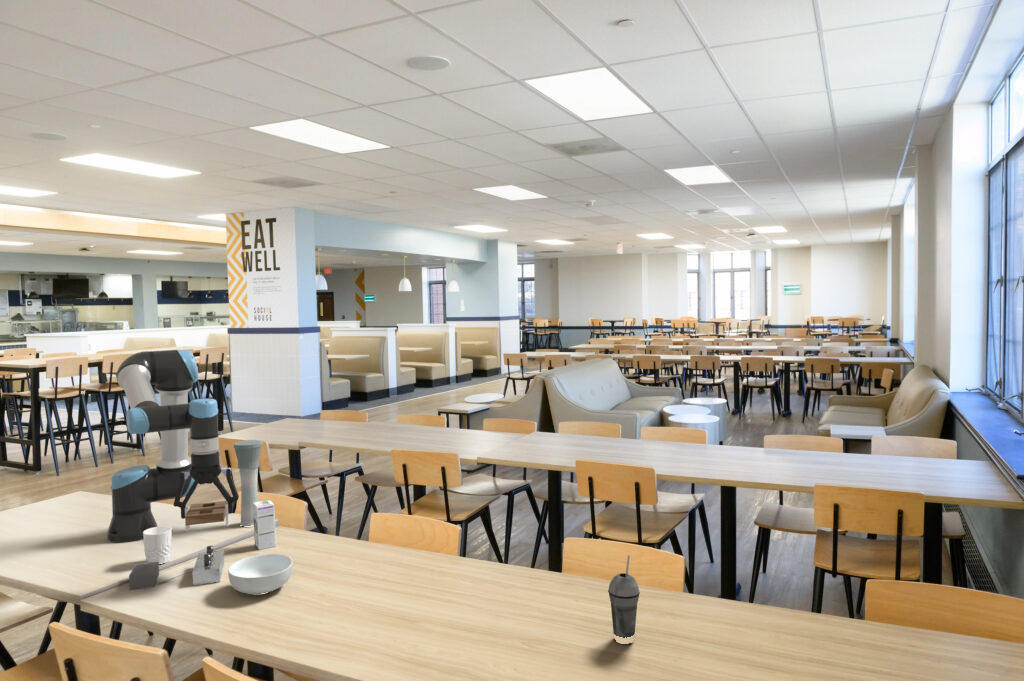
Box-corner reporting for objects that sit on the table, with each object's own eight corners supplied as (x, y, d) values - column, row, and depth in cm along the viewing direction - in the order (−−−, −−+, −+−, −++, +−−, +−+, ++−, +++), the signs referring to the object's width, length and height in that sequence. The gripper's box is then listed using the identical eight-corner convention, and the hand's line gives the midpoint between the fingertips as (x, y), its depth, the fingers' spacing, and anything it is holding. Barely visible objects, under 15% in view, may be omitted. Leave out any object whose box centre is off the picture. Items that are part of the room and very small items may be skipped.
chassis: (199, 566, 202) (198, 543, 202) (224, 563, 204) (223, 540, 204) (193, 585, 188) (192, 561, 188) (219, 581, 190) (219, 558, 190)
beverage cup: (605, 633, 158) (604, 550, 157) (635, 631, 159) (634, 549, 158) (612, 648, 151) (612, 562, 150) (643, 647, 151) (643, 561, 150)
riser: (136, 577, 194) (135, 564, 194) (159, 574, 196) (158, 561, 196) (129, 589, 185) (129, 575, 185) (153, 586, 187) (153, 572, 187)
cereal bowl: (215, 597, 180) (214, 572, 180) (258, 574, 196) (257, 550, 195) (265, 606, 174) (264, 580, 174) (305, 581, 190) (305, 557, 190)
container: (240, 520, 246) (238, 440, 244) (267, 519, 247) (265, 439, 245) (232, 529, 236) (230, 445, 235) (260, 527, 237) (258, 444, 236)
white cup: (178, 557, 210) (177, 526, 209) (162, 567, 202) (161, 534, 201) (154, 556, 210) (153, 525, 210) (138, 566, 203) (137, 534, 202)
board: (191, 512, 200) (191, 504, 200) (227, 508, 203) (227, 500, 203) (185, 525, 187) (185, 516, 187) (223, 521, 191) (223, 512, 190)
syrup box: (276, 546, 218) (275, 503, 218) (257, 550, 215) (256, 506, 214) (272, 541, 223) (270, 499, 222) (253, 545, 220) (252, 502, 219)
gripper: (159, 457, 187) (162, 535, 188) (245, 451, 194) (248, 526, 195) (164, 452, 194) (167, 527, 195) (247, 446, 202) (249, 518, 203)
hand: (207, 526), depth 195 cm, fingers closed on board, 10 cm apart
